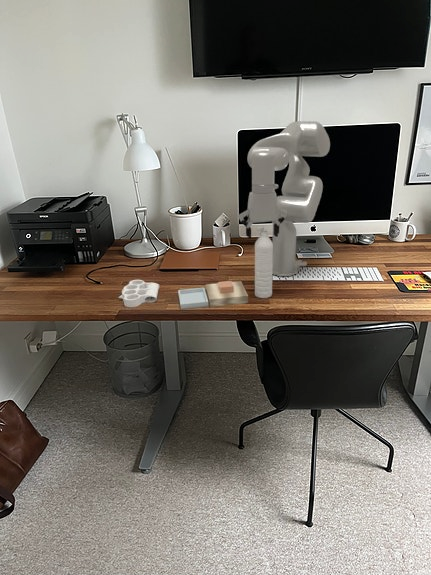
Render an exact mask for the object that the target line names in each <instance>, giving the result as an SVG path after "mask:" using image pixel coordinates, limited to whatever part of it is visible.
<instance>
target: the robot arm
mask: <svg viewBox="0 0 431 575" xmlns="http://www.w3.org/2000/svg"><path fill="white" fill-rule="evenodd" d="M330 147H331V141H330V137H329V134H328V133H327V131H326V129H325V127H324V126H323V124H321V123H320V122H318V121H307V120H306V121H303V120H302V121H292V122H290V123H289V124H288V125H287V126H286V127H285V128H284V129H283V130H282V131H281V132H280V133H277V134H274V135H271V136H268V137H265V138H262V139H259V140H258V141H257V142H255V143H254V144H253V145H252V146H251V148H250V149H249V151H248V153H247V163H248V165H249V167H250V168H251V191H250V192H249V195H248V201H247V209H246V210H244V211H243V212H241V213H239V214H238V215H237V217H238V218H239V221H240V223H241V224H242V225H244V227H245V236H246V237H247V238H248V240H251V239H252V225H253V224H255V223H267V222H269V223H270V222H271V223H272V243H273V261H272V262H273V263H272V264H273V268H272V274H274V275H273V276H275V275H277V276H276V277H281V276H288V277H292V276H291V275H293V276H295V275H294V274H296V273H297V274H298V273H299V272H298V271H299V270H300V267H307V264H308V263H307V261H303V260H301V259H300V260H299V259H298V260H297V259H296V252H297V251H296V250H297V249H296V248H297V229H296V226H295V224H294V223H305V224H307V223H311V222H312V221H313V220H314V218H315V216H316V212H317V209H318V206H319V205H320V201H321V198H322V193H323V188H324V185H323V181H322V179H321V178H320V177H318V176H315V175H310V171H311V170H310V166H309V164H308V162H307V161H306V160H305V158H303V157H317V158H319V157H320V158H321V157H325V156H327V155H328V153H329V152H330V149H331V148H330ZM288 165H289V166H288ZM287 166H288V170H287V172H286V176H285V178H284V181H283V182H282V187H281V194H282V195H277V193H276V191H275V190H277V189H279V184H277V183H275V171H276V172H277V171H282V170H284V169H286V167H287ZM245 217H247V220H245V219H244V218H245ZM297 274H296V275H297Z"/></svg>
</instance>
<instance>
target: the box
mask: <svg viewBox="0 0 431 575" xmlns="http://www.w3.org/2000/svg"><path fill="white" fill-rule="evenodd" d="M177 292H178V293H177V294H178V300H179V305H180V310H187V309H198V308H205V307H206V308H207V307H210V305H209V302H208V298H207V295H206V291H205V287H198V288H197V287H196V288H186V289H185V288H184V289H178V290H177Z"/></svg>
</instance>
